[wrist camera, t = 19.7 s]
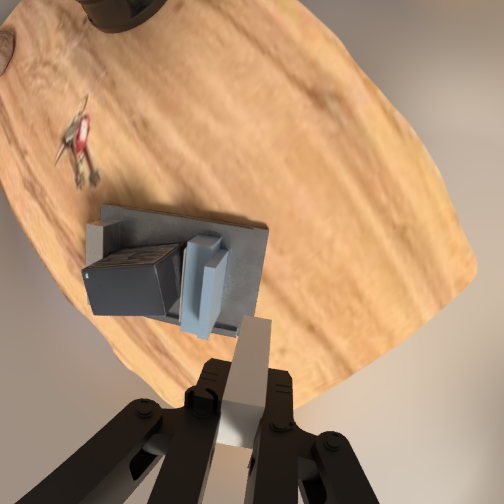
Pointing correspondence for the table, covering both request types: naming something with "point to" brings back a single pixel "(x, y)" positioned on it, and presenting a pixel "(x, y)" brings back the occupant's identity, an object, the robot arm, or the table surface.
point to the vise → (183, 230)
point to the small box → (136, 281)
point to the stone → (5, 49)
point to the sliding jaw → (202, 284)
